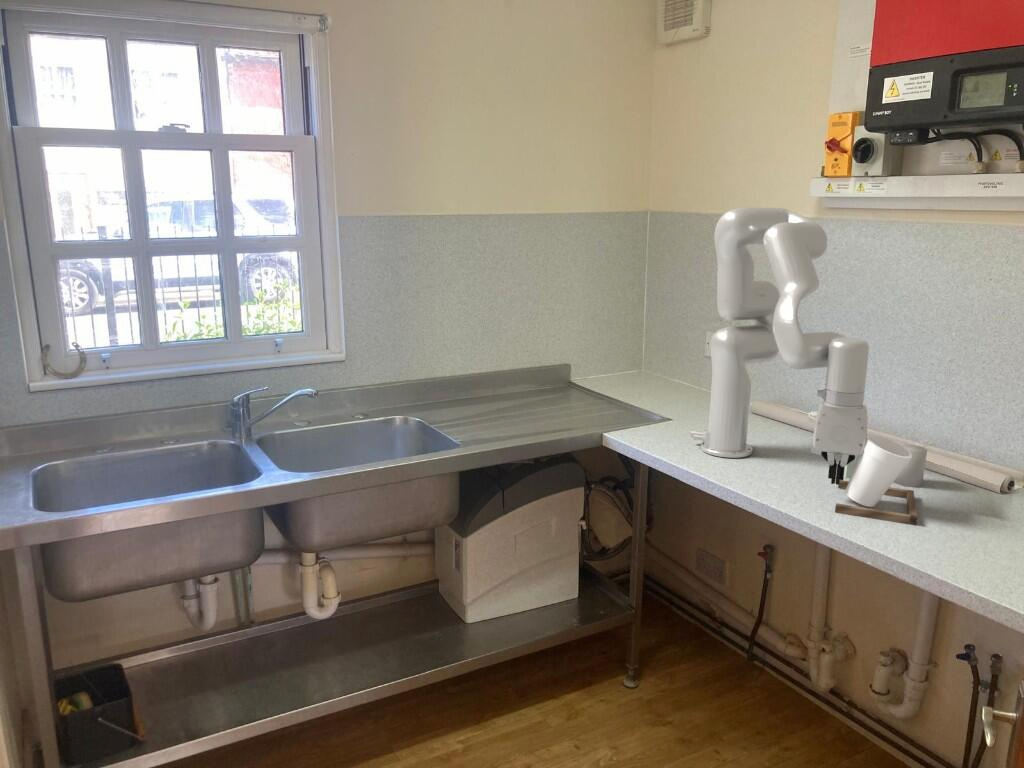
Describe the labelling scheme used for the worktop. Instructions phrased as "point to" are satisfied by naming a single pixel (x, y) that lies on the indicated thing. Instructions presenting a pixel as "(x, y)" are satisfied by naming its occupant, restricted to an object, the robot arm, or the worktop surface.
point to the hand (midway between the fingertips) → (835, 482)
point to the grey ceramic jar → (913, 468)
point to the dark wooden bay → (880, 514)
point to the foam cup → (876, 469)
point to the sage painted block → (849, 469)
